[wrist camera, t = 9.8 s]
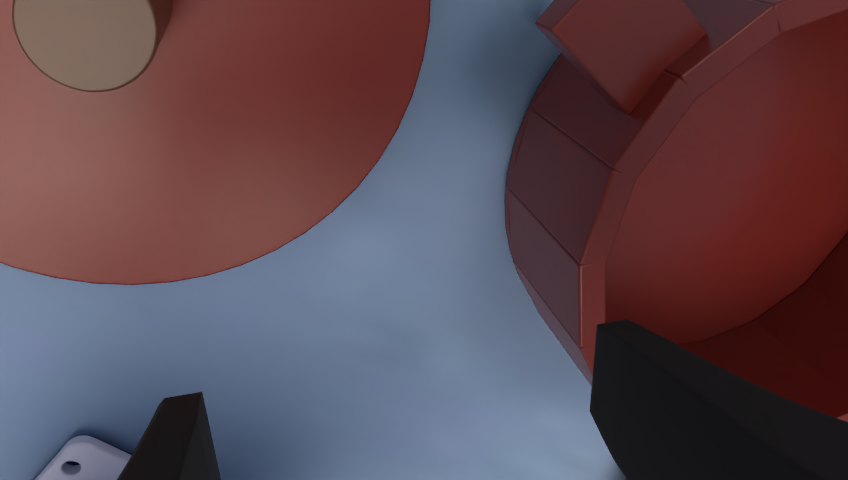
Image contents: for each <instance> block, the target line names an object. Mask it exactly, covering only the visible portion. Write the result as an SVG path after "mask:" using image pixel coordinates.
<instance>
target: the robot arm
mask: <svg viewBox="0 0 848 480" xmlns="http://www.w3.org/2000/svg"><path fill="white" fill-rule="evenodd" d="M590 412H591V414H592V417H593V419H594V421H595V423H596V425H597V427H598V429H599V431H600V433H601V436H602V438H603V440H604V441H605V443H606V445H607V447H608V449H609V451H610V453H611V455H612V457H613V459H614V460H615V462H616V463H617V465H618V466H619V468H620V469H621V471H622V472H623V474H624V475H625V477H626V478H627V480H848V422H846V421H843V420H840V419H838V418H835V417H832V416H830V415H827V414H824V413H822V412H819V411H817V410H814V409H811V408H809V407H806V406H803V405H801V404H799V403H796V402H794V401H791V400H789V399H787V398H784V397H782V396H780V395H777V394H775V393H773V392H771V391H769V390H767V389H764V388H762V387H760V386H758V385H756V384H753V383H751V382H749V381H747V380H745V379H743V378H741V377H739V376H737V375H735V374H733V373H731V372H729V371H727V370H725V369H723V368H721V367H719V366H717V365H715V364H713V363H711V362H709V361H707V360H705V359H703V358H701V357H699V356H698V355H696V354H694V353H692V352H690V351H688V350H686V349H684V348H682V347H681V346H679V345H677V344H675V343H673V342H671V341H669V340H667V339H666V338H664V337H662V336H660V335H658V334H656V333H654V332H652V331H650V330H648V329H646V328H644V327H642V326H640V325H638V324H636V323H634V322H632V321H630V320H627V319H626V320H620V321H614V322H608V323H602V324H597V329H596V342H595V354H594V366H593V379H592V391H591V403H590ZM68 461H75V462H78V463H79V465H75V466H72V465H68V464H67V463H66V462H68ZM35 480H221V479H220V474H219V469H218V464H217V460H216V455H215V450H214V446H213V441H212V436H211V432H210V427H209V422H208V418H207V413H206V408H205V404H204V399H203V394H202V392H198V393H192V394H187V395H181V396H175V397H169V398H164V400H163V401H162V402H161V403H160V404H159V406H158V408H157V410H156V412H155V414H154V416H153V418H152V420H151V422H150V423H149V425H148V427H147V429H146V431H145V433H144V435H143V436H142V438H141V440H140V442H139V443H138V445H137V447H136V449H135V450H134V452H133V454H132V455H130V454H128V453H126V452H124V451H122V450H119V449H117V448H115V447H113V446H111V445H109V444H107V443H105V442H102V441H100V440H98V439H96V438H94V437H91V436H87V435H84V436H77V437H74V438H72V439H71V440H69V441H68V442H67V443H66V444H65V446H64V447H63V448H62V449H61V450H60V451H59V452H58V454H57V455H56V456H55V457H54V458H53V459H52V460H51V462H50V463H49V464H48V465H47V466H46V467H45V468H44V470H43V471H42V472H41V473H40V474H39V475H38V476H37V478H36V479H35Z"/></svg>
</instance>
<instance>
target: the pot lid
mask: <svg viewBox="0 0 848 480" xmlns="http://www.w3.org/2000/svg"><path fill="white" fill-rule="evenodd" d="M429 22H430V0H0V263H3V264H5V265H8V266H11V267H14V268H18V269H22V270H26V271H30V272H34V273H38V274H42V275H46V276H50V277H54V278H60V279H67V280H74V281H81V282H88V283H97V284H124V285H138V284H152V283H166V282H175V281H180V280H186V279H191V278H196V277H202V276H207V275H211V274H214V273H217V272H221V271H224V270H227V269H230V268H234V267H237V266H240V265H243V264H245V263H248V262H250V261H252V260H255V259H257V258H259V257H261V256H264V255H266V254H268V253H271V252H273V251H275V250H277V249H278V248H280V247H282V246H283V245H285V244H287V243H289V242H290V241H292V240H294V239H295V238H297V237H299V236H300V235H302V234H304V233H305V232H307V231H308V230H309V229H311V228H312V227H313V226H315V225H316V224H317V223H318V222H320V221H321V220H322V219H324V218H325V217H326V216H328V215H329V214H330V213H332V212H333V211H334V210H335V209H336V208H337V207H338V206H339V205H340V204H341V203H342V202H343V201H344V200H345V199H346V198H347V197H348V196H349V195H350V194H351V193H352V192H353V191H354V190H355V189H356V188H357V187H358V186H359V185H360V183H361V182H362V181H363V180H364V178H365V177H366V176H367V175H368V173H369V172H370V171H371V169H372V168H373V167H374V166H375V164H376V163H377V162H378V161H379V159H380V158H381V156H382V154H383V153H384V151H385V149H386V148H387V146H388V144H389V143H390V141H391V139H392V138H393V136H394V134H395V133H396V131H397V129H398V127H399V125H400V123H401V120H402V118H403V116H404V114H405V111H406V109H407V107H408V105H409V102H410V100H411V98H412V95H413V92H414V89H415V85H416V82H417V79H418V75H419V72H420V69H421V65H422V62H423V58H424V52H425V46H426V40H427V34H428V28H429Z"/></svg>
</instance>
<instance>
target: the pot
mask: <svg viewBox="0 0 848 480" xmlns="http://www.w3.org/2000/svg"><path fill="white" fill-rule="evenodd" d="M535 24H536V26H537V27H538V28H539V29H540V30H541V31H542V32H543V34H544V35H545V36H546V37H547V38H548V39H549V40H550V41H551V42H552V43H553V44H554V45H555V46H556V47H557V49H558V50H559V51H560V52H561V55H560V56H559V57H558V58H557V60H556V61H555V63H554V64H553V66H552V67H551V69H550V70H549V72H548V73H547V75H546V76H545V78H544V80H543V81H542V83H541V84H540V86H539V87H538V89H537V91H536V93H535V95H534V97H533V99H532V101H531V103H530V105H529V107H528V109H527V111H526V113H525V115H524V118H523V121H522V124H521V127H520V129H519V132H518V135H517V138H516V140H515V143H514V147H513V151H512V156H511V160H510V165H509V169H508V174H507V184H506V194H505V217H506V231H507V236H508V242H509V247H510V252H511V255H512V258H513V262H514V264H515V267H516V270H517V273H518V275H519V277H520V279H521V281H522V282H523V284H524V286H525V288H526V290H527V292H528V294H529V295H530V297H531V298H532V300H533V302H534V304H535V307H536V309H537V311H538V313H539V314H540V315H541V317H542V318H543V320H544V321H545V322H546V324H547V325H548V326H549V328H550V329H551V331H552V332H553V333H554V335H555V336H556V338H557V339H558V340H559V342H560V343H561V345H562V346H563V347H564V349H565V350H566V351H567V353H568V354H569V356H570V357H571V358H572V360H573V361H574V363H575V364H576V365H577V367H578V368H579V370H580V371H581V372H582V374H583V375H584V376H585V378H586V379H587V381H588V382H589V383H590V385H591V386H592V379H593V366H594V354H595V342H596V329H597V324H602V323H608V322H614V321H620V320H626V319H627V320H630V321H632V322H634V323H636V324H638V325H640V326H642V327H644V328H646V329H648V330H650V331H652V332H654V333H656V334H658V335H660V336H662V337H664V338H666V339H667V340H669V341H671V342H673V343H675V344H677V345H679V346H681V347H682V348H684V349H686V350H688V351H690V352H692V353H694V354H696V355H698V356H699V357H701V358H703V359H705V360H707V361H709V362H711V363H713V364H715V365H717V366H719V367H721V368H723V369H725V370H727V371H729V372H731V373H733V374H735V375H737V376H739V377H741V378H743V379H745V380H747V381H749V382H751V383H753V384H756V385H758V386H760V387H762V388H764V389H767V390H769V391H771V392H773V393H775V394H777V395H780V396H782V397H784V398H787V399H789V400H791V401H794V402H796V403H799V404H801V405H803V406H806V407H809V408H811V409H814V410H817V411H819V412H822V413H824V414H827V415H830V416H832V417H835V418H838V419H840V420H843V421H846V422H848V0H555V1H554V2H553V3H552V4H551V5H550V6H549V7H548V8H547V9H546V10H545V12H544V13H543V14H542V15H541V16H540V17H539V18H538V19H537V20H536V22H535Z"/></svg>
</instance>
